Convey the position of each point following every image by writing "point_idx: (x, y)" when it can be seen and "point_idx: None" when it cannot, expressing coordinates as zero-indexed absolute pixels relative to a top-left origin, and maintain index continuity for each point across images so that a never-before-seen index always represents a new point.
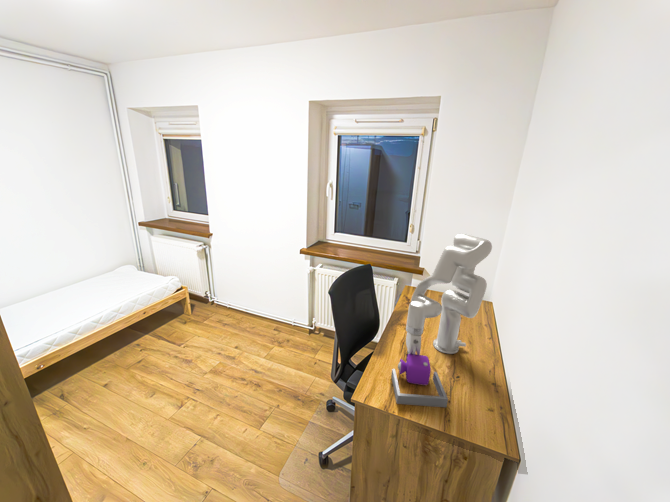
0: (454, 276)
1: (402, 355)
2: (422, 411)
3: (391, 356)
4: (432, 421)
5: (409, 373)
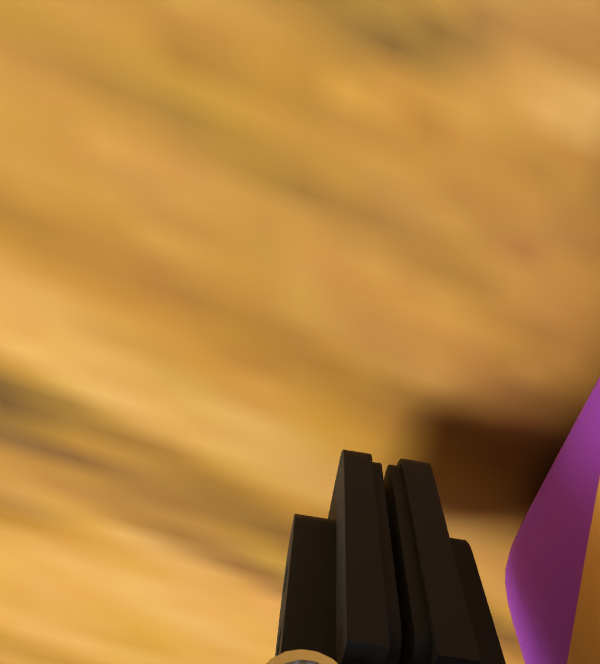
0: None
1: (60, 485)
2: None
3: (119, 651)
4: None
5: None
